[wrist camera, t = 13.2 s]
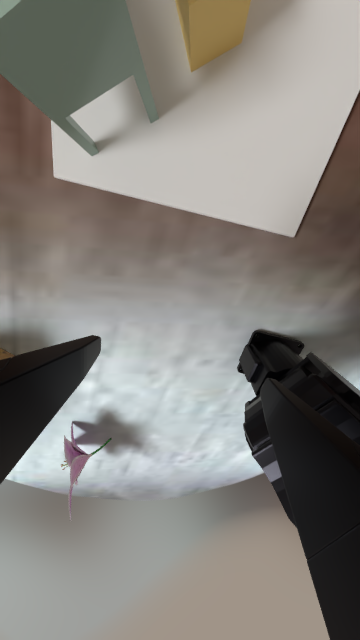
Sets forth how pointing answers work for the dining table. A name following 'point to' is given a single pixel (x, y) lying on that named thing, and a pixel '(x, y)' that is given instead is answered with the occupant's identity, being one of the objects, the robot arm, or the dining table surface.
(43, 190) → the dining table surface
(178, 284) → the dining table surface
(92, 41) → the green hollow square frame
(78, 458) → the lily
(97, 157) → the white rectangular sheet
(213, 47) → the plus sign cube
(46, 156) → the dining table surface
